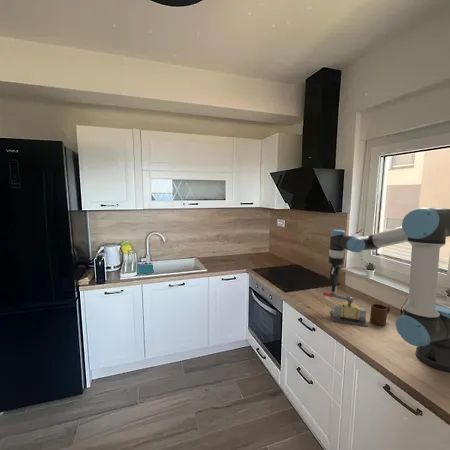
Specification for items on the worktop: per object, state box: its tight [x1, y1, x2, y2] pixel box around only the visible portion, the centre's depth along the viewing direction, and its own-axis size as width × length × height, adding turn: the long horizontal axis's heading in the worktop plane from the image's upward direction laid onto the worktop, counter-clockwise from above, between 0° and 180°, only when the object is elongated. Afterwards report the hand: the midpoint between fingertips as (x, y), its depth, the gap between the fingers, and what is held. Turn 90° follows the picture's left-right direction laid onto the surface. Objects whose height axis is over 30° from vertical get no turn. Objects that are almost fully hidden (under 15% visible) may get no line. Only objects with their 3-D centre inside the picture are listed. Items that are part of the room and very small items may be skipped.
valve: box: [330, 301, 369, 328], centre depth 143 cm, size 12×17×10 cm
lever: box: [322, 290, 355, 303], centre depth 145 cm, size 16×4×2 cm, turn 57°
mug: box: [369, 303, 391, 327], centre depth 140 cm, size 12×8×9 cm, turn 111°
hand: (333, 296), depth 149 cm, fingers closed
